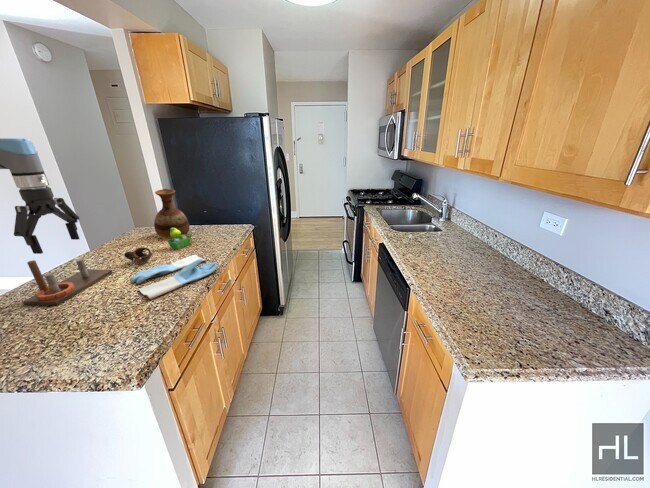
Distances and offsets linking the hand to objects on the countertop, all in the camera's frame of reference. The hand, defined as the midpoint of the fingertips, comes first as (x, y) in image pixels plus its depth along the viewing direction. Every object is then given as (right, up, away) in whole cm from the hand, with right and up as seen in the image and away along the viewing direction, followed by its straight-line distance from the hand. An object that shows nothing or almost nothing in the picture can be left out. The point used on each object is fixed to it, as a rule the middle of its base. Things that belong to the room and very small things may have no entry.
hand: (58, 245), depth 95 cm
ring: (-9, -19, +8) cm, 22 cm away
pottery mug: (+3, -8, +38) cm, 39 cm away
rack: (-9, -18, +15) cm, 25 cm away
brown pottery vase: (-1, +7, +75) cm, 76 cm away
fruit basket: (+13, -1, +57) cm, 59 cm away
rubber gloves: (+29, -14, +25) cm, 41 cm away
